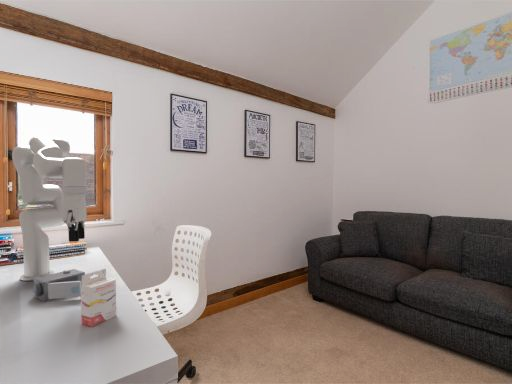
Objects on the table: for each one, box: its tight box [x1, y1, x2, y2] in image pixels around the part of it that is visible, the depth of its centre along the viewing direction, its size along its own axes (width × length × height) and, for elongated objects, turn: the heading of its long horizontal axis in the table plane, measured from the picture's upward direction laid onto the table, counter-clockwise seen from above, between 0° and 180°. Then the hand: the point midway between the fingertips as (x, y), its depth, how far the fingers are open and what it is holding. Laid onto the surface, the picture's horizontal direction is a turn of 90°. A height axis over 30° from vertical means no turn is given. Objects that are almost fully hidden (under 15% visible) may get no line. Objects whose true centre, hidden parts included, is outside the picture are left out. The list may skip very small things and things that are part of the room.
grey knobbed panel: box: [33, 268, 86, 303], centre depth 112 cm, size 9×16×8 cm, turn 146°
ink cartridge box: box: [80, 268, 117, 328], centre depth 89 cm, size 9×5×15 cm, turn 155°
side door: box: [45, 281, 81, 301], centre depth 105 cm, size 2×12×6 cm, turn 101°
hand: (77, 239), depth 109 cm, fingers open, 4 cm apart
